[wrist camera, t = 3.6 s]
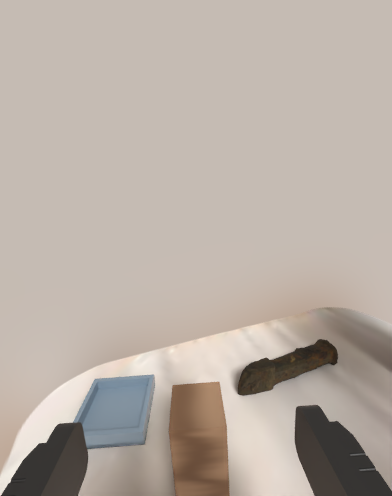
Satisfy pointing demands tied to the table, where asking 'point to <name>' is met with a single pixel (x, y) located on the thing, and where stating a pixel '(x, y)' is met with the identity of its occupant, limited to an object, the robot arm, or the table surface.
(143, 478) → the table surface
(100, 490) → the table surface
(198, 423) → the walnut block
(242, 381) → the brown rough rod
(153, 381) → the tray
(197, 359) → the table surface
